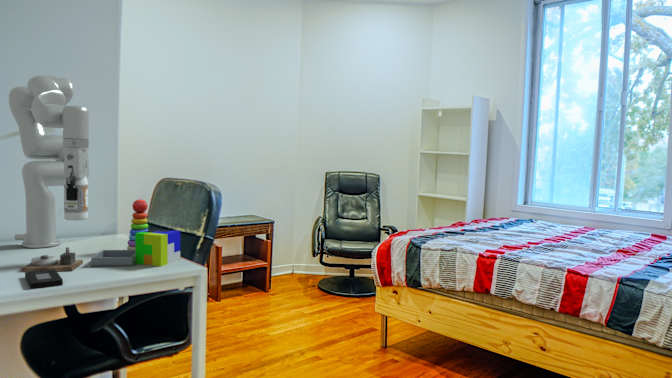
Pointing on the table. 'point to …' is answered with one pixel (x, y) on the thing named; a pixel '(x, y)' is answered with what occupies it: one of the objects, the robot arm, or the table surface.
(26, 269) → the board
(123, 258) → the tray
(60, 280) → the vhs tape
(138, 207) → the stacking toy
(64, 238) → the table surface
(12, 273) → the table surface
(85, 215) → the bath foam
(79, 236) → the table surface
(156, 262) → the puzzle toy
